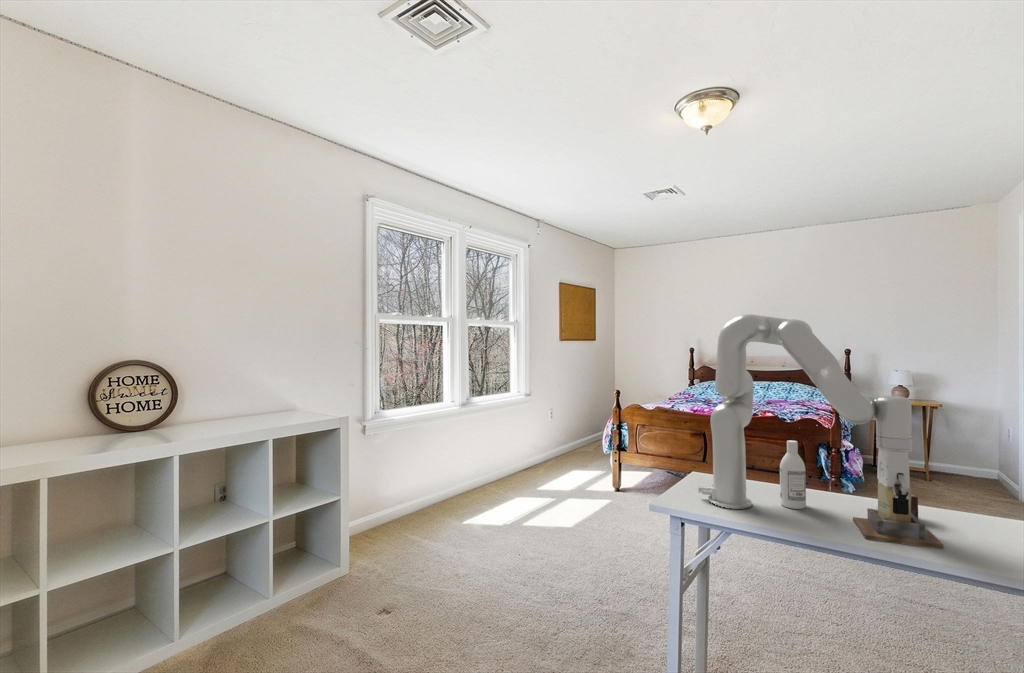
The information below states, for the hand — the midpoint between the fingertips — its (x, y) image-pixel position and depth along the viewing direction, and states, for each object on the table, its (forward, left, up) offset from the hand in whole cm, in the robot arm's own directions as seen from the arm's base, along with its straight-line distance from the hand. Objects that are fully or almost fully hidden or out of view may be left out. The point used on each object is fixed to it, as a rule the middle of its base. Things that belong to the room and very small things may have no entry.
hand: (894, 507), depth 132 cm
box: (+5, +14, -7) cm, 16 cm away
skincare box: (0, 0, -6) cm, 6 cm away
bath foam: (-22, +15, -7) cm, 28 cm away
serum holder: (0, 0, -7) cm, 7 cm away
